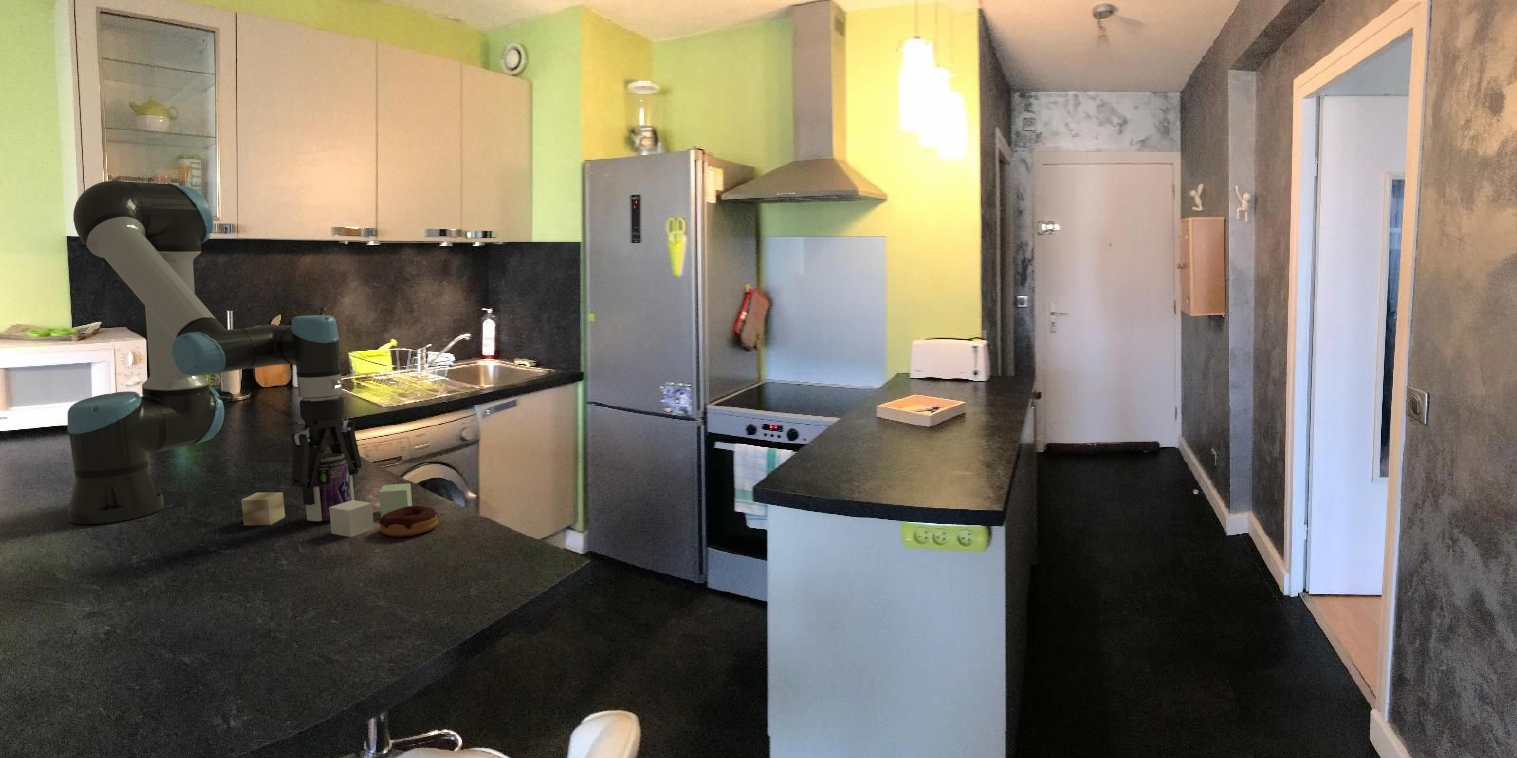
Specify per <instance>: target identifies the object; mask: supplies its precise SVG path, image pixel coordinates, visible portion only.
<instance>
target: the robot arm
mask: <svg viewBox="0 0 1517 758" xmlns="http://www.w3.org/2000/svg"><path fill="white" fill-rule="evenodd" d="M72 215H73V219H72V220H73V224H74V229H75V231H76V234H77V235H78V237H79V240H81V242H82V244H84V245H85V247H86V248H87V250H89V252H91V254H93V255H94V256H96V257H98V258H102V259H104V260H105V261H106V262H107V263H108V264H109V265H110V266H111V268H112V269H113V270H114V271H115V272H116V273H117V275H118V276H119V278H121V279H122V280H123V282H124V283H125V284H126V285H127V286H128V287H129V289H130V290H131V291H132V292H133V294H134V295H136V296H137V297H136V298H138V299H139V300H140V301H141V302H142V304H143V305H144V309H145V319H146V320H145V322H146V324H145V325H146V337H147V348H148V349H147V350H148V352H147V353H148V362H149V363H148V366H149V378H147V379H146V380H145V381H144V382H143V383H142V384H141V390H142V391H141V392H142V393H141V394H142V396H140V393H138V392H136V391H117V392H111V393H104V394H98V395H95V396H92V397H91V396H90V397H88V398H84V399H82V400H79V401H77V402H75V403H73V404H72V405H71V406H70V407H69V408H68V411H67V426H66V427H67V433H68V437H69V442H70V443H69V444H70V450H71V457H72V463H73V471H74V477H75V478H74V479H75V481H74V484H73V485H74V486H73V490H72V493H71V497H70V500H69V501H70V502H69V506H68V508H67V514H68V521H69V522H70V523H72V524H76V525H77V524H78V525H101V524H111V523H116V522H123V521H129V520H134V519H137V518H141V517H146V516H149V515H151V514H155V513H156V512H159V511H161V510H162V509H163V508H164V506H165V503H164V496H163V493H162V491H160V488H159V486H158V484H157V482H156V481H155V480H156V479H154V477H153V475H152V473H151V471H150V469H149V467H150V466H149V461H148V455H149V454H154V453H158V452H163V451H167V450H172V449H173V450H174V449H177V448H181V447H185V446H186V447H191V446H194V445H197V444H199V443H200V444H201V443H203V442H206V441H209V440H212V439H213V438H214V437H215V436H216V435H217V434H218V433H219V431H220V430H221V428H222V425H223V423H224V418H225V407H224V403H223V400H222V399H220V398H221V395H220V394H219V393H218V391H216V390H215V389H214V388H212V387H210V382H209V380H207V378H205V377H203V376H209V375H210V376H211V375H218V374H221V373H226V372H228V373H229V372H234V371H235V372H236V371H240V370H250V369H256V368H257V369H258V368H265V367H270V366H278V365H279V366H280V365H282V366H283V365H284V366H285V365H287V366H288V365H290V366H292V365H293V366H295V369H296V382H297V384H296V385H297V393H298V394H297V395H298V397H299V398H300V400H299V401H298V403H299V415H300V419H302V421H303V422H304V427H303V431H300V432H299V433H297V432H296V433H294V432H293V433H291V436H290V439H291V442H292V449H293V450H292V465H291V466H292V468H291V469H292V470H291V486H292V487H295V488H296V487H297V488H301V491H302V492H301V493H302V500H303V505H305V510H306V520H307V521H310V522H322V521H321V520H322V514H321V503H320V492H319V487H317V486H315V483H316V479H317V474H318V470H319V465H320V461H321V456H322V454H324V452H326V447H329V450H330V451H331V453H340V454H344V458H345V460H346V462H347V463H348V472H349V483H350V494H351V500H355V492H354V490H355V486H356V485H355V475H358V474H359V473H360V472H359V471H360V470H359V469H361V468H362V464H363V463H362V461H361V456H360V452H359V451H360V450H359V447H358V442H357V438H356V437H357V436H356V433H355V432H356V431H355V430H356V428H355V427H356V422H355V421H354V420H346V419H345V420H344V419H342V418H343V416H344V415H345V402H344V397H342V394H343V381H342V369H341V355H340V353H341V352H340V342H339V340H340V335H339V331H338V325H337V320H336V318H335V317H334V316H332V315H328V314H320V315H319V314H311V315H307V314H306V315H298V316H294V317H293V318H292V320H291V325H279V324H274V323H273V324H272V323H270V324H259V325H255V326H252V327H246V328H245V327H244V328H233V329H230V328H229V329H228V328H225V327H224V325H222V324H221V322H220V321H219V320H218V319H217V318H216V317H215V316H214V315H213V314H212V312H210V310H209V309H208V308H207V306H206V305H205V304H204V303H203V302H202V300H200V299H199V297H198V296H197V295H196V292H195V274H194V273H195V272H194V260H195V258H196V257H198V256H199V255H200V254H201V253H202V245H201V244H202V243H204V242H207V241H208V240H209V239H210V237H211V234H212V233H213V231H214V216H213V212H212V210H211V206H210V205H209V204H208V202H207V200H206V199H205V198H204V197H203V196H202V194H201V193H200V192H199V191H198V190H196V189H194V188H192V187H191V186H188V185H181V184H174V183H169V182H168V183H167V182H166V183H157V182H142V181H141V182H140V181H139V182H138V181H124V180H106V181H101V182H98V183H96V184H93V185H91V186H89V187H88V188H87V189H86V190H85V191H82V193H81V194H80V196H79V197H78V199H77V201H76V202H75V205H74V209H73V214H72ZM308 479H309V481H308Z"/></svg>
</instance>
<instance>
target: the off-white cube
mask: <svg viewBox="0 0 1517 758" xmlns="http://www.w3.org/2000/svg"><path fill="white" fill-rule="evenodd" d="M329 510H330V521H329V522H330V533H331V535H333V534H334V535H338V536H344V537H348V538H349V537H350V538H352V537H355V536H357V535H361V534H363V533H366V532H369V531H372V530H374V529H375V527H374V526H375V525H374V524H375V523H374V514H373V513H374V512H373V503H372V502H369V501H361V500H355V499H354V500H351V501H348V502H345V503H341V504H338V505H335V506H332V507H329Z"/></svg>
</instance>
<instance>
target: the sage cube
mask: <svg viewBox="0 0 1517 758" xmlns="http://www.w3.org/2000/svg"><path fill="white" fill-rule="evenodd" d="M378 497H379V498H378V499H379V509H380V510H379V511H380V518H381V517H382V516H383V515H385V514H386V513H388V512H391V511H394V510H397V509H400V508H403V507H407V506H413V503H412V487H411V483H396V484H395V483H394V484H384V485H382V487H381V488H380V490H378Z"/></svg>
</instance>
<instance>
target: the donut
mask: <svg viewBox="0 0 1517 758" xmlns="http://www.w3.org/2000/svg"><path fill="white" fill-rule="evenodd" d="M439 523H440V522H439V519H438V512H436V510H435V509H434V508H433V507H428V506H423V505H412V506H407V507H403V508H400V509H397V510H394V511H391V512H388V513H386V514H385V515H383V516H382V517H381V516H380V519H379V521H378V524H379V525H380V529H379V530H380V532H381V533H382V534H384V535H386V536H389V537H392V538H393V537H396V538H397V537H411V536H417V535H421V534H424V533H427V532H430V531H432V530H433V529H434V528H436V527H437V526H438V525H439Z"/></svg>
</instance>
